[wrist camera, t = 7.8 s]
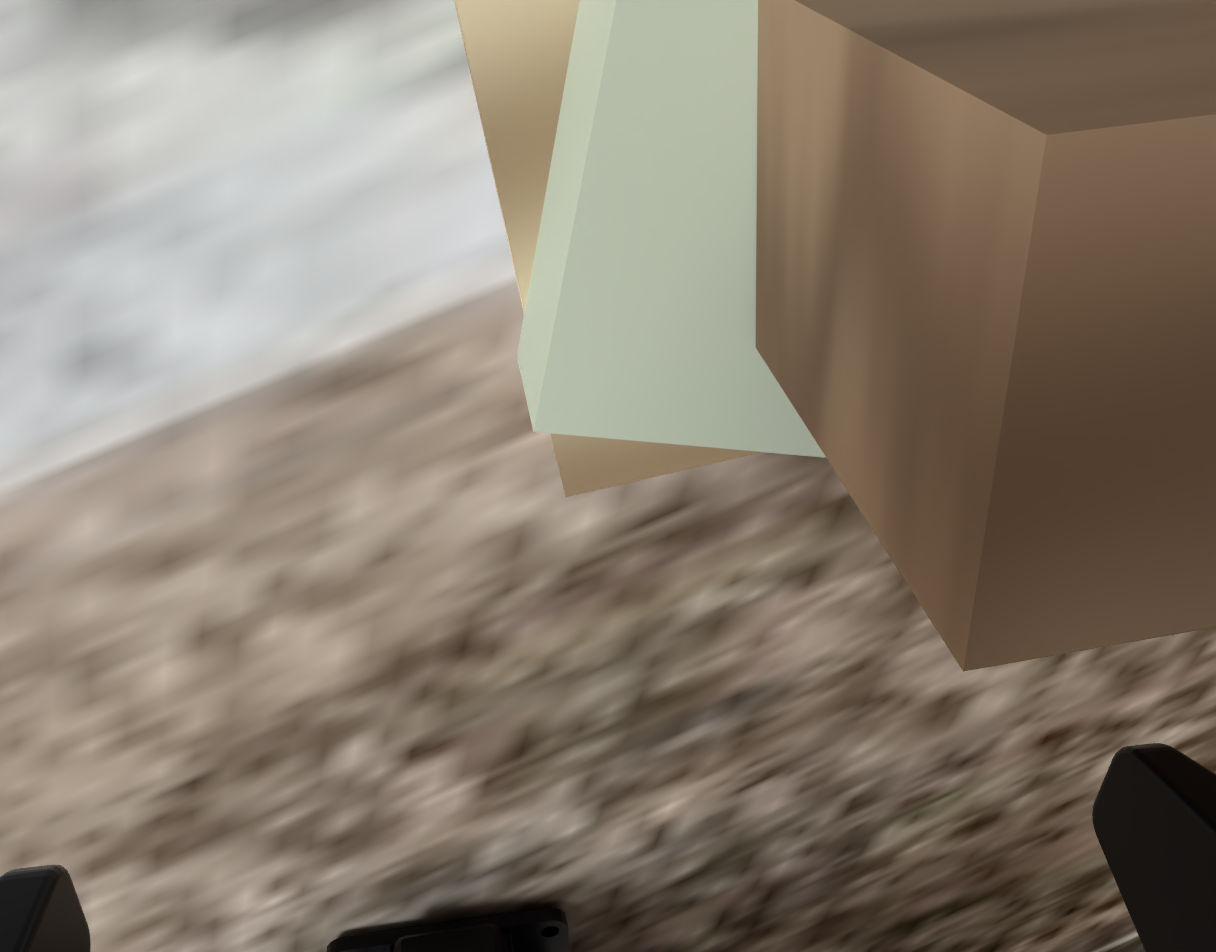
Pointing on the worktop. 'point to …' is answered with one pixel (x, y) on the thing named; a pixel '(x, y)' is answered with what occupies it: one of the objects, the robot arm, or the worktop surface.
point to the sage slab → (655, 237)
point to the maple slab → (520, 160)
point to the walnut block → (1003, 300)
